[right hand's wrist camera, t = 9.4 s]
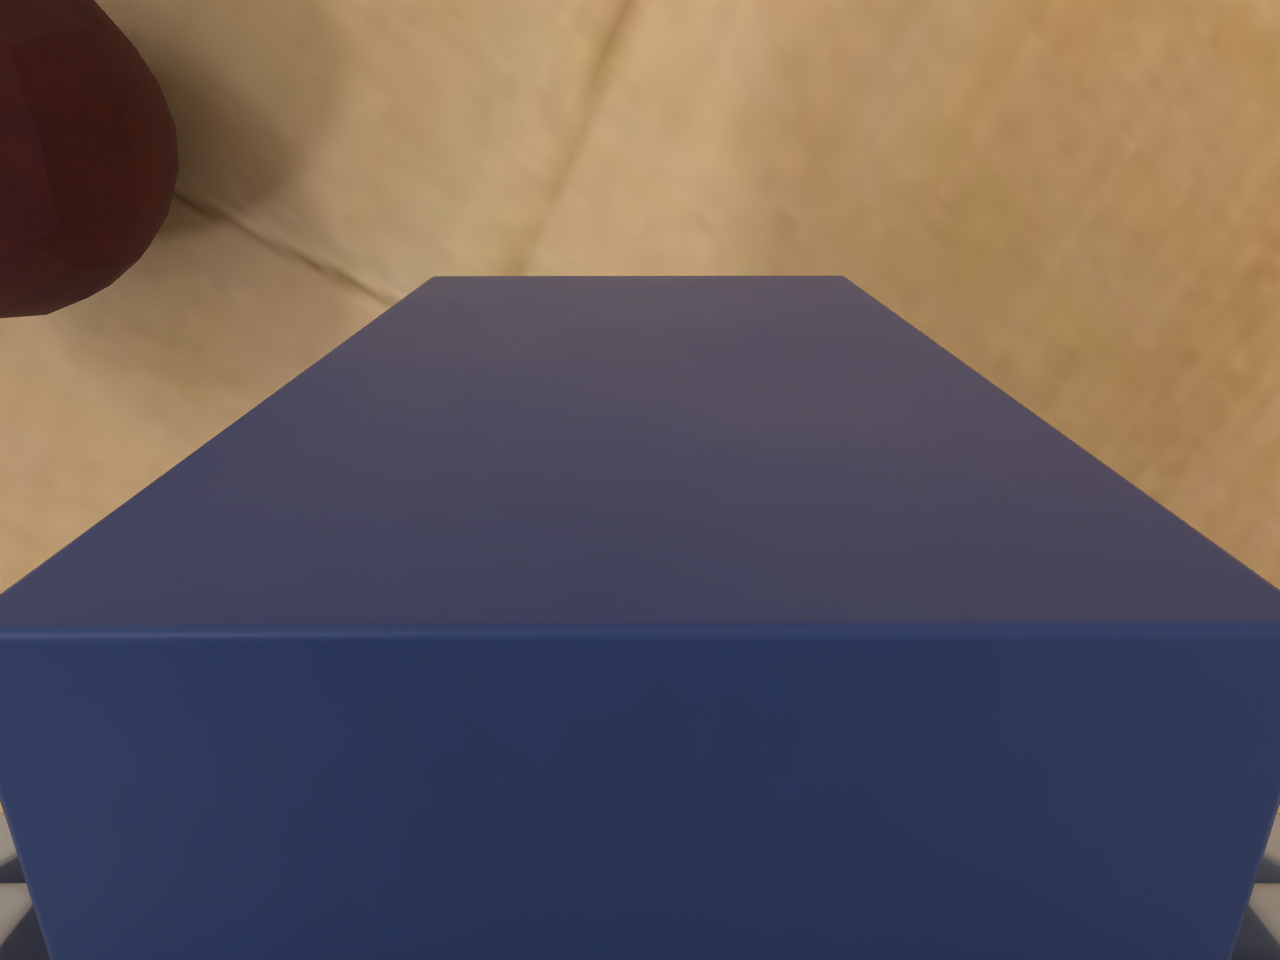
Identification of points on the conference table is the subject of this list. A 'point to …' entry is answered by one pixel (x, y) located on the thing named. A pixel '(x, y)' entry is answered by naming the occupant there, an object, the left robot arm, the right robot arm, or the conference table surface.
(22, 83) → the dark red ball
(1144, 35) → the conference table surface
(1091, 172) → the conference table surface
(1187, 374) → the conference table surface
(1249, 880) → the box
